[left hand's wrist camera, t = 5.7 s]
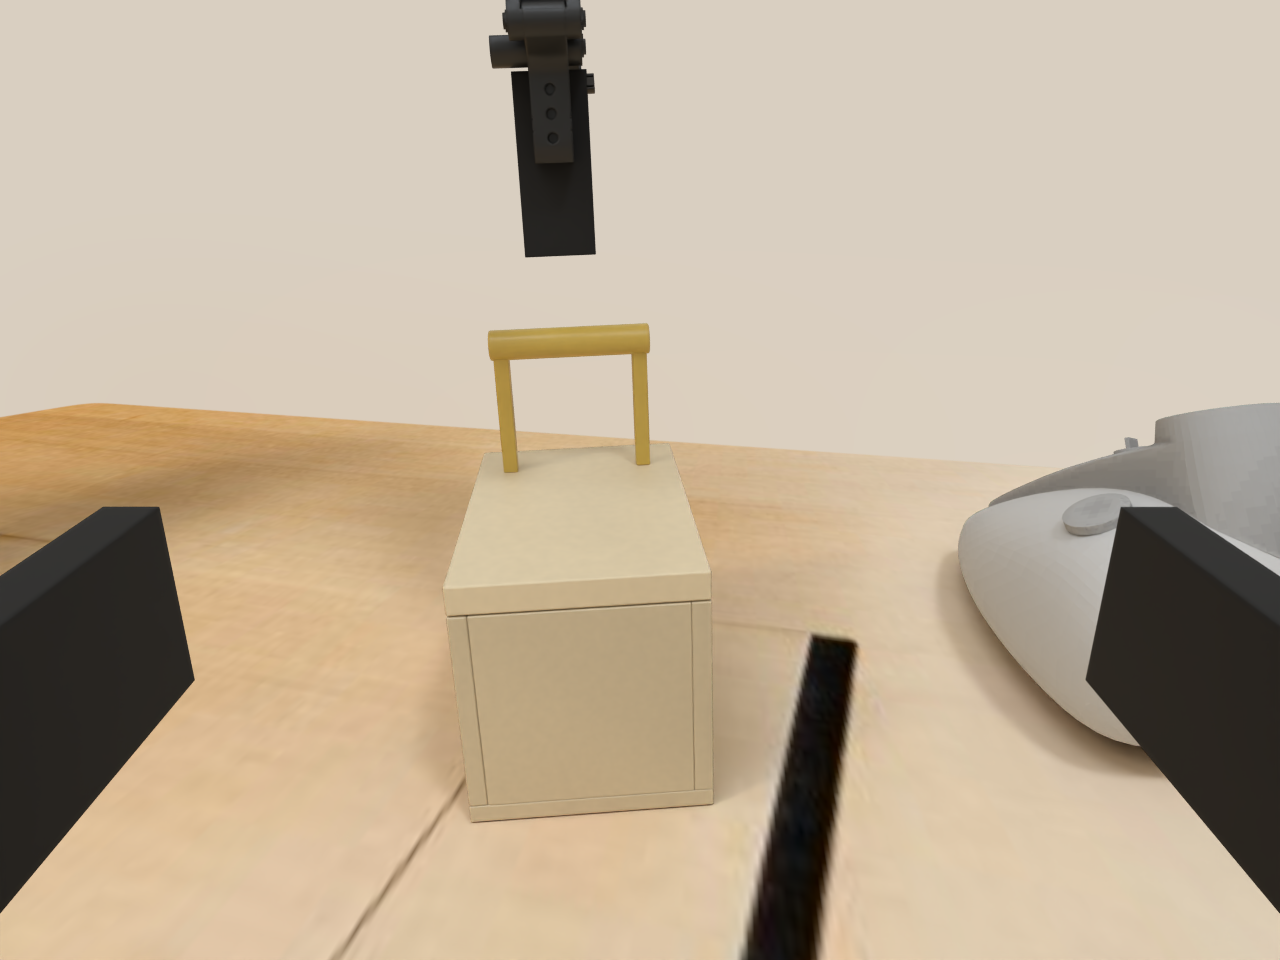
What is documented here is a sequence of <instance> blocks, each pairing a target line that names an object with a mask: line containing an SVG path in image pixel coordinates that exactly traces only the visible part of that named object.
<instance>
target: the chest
mask: <svg viewBox="0 0 1280 960" xmlns="http://www.w3.org/2000/svg"><path fill="white" fill-rule="evenodd" d="M446 622H447V630H448V638H449V647H450V655H451V663H452V671H453V679H454V687H455V695H456V703H457V711H458V720H459V728H460V736H461V744H462V752H463V760H464V768H465V776H466V784H467V792H468V801H469V805H470V806H469V810H470V818H471V822H479V821H492V820H506V819H519V818H532V817H546V816H559V815H572V814H586V813H599V812H612V811H626V810H639V809H653V808H666V807H679V806H693V805H706V804H713V683H712V601H711V599H710V600H695V601H679V602H664V603H648V604H632V605H616V606H600V607H584V608H568V609H552V610H537V611H521V612H505V613H489V614H473V615H457V616H447V618H446Z"/></svg>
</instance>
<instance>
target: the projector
mask: <svg viewBox="0 0 1280 960" xmlns="http://www.w3.org/2000/svg"><path fill="white" fill-rule="evenodd" d="M1125 444H1126V449H1121V450H1117V451H1114V454H1113V455H1109V456H1106V457H1102V458H1098V459H1095V460H1091V461H1088V462H1085V463H1082V464H1078V465H1075V466H1072V467H1068V468H1065V469H1062V470H1060V471H1057V472H1054V473H1052V474H1049V475H1046V476H1044V477H1041V478H1039V479H1037V480H1034V481H1032V482H1030V483H1027V484H1025V485H1023V486H1021V487H1018V488H1016V489H1014V490H1012V491H1010V492H1008V493H1006V494H1004V495H1002V496H1000V497H998V498H996V499H995V500H993V501H992V502H991V503H990V504H989V507H987V508H985V509H983V510H981V511H979V512H977V513H975V514H973V515H972V516H971V517H969V518H968V519H967V521H966V522H965V523H964V525H963V528H962V531H961V534H960V538H959V543H958V557H959V562H960V568H961V571H962V574H963V578H964V580H965V583H966V585H967V588H968V590H969V592H970V594H971V596H972V598H973V600H974V602H975V604H976V606H977V607H978V609H979V611H980V612H981V614H982V616H983V617H984V619H985V620H986V622H987V623H988V624H989V626H990V627H991V629H992V630H993V632H994V633H995V634H996V636H997V637H998V639H999V640H1000V641H1001V642H1002V644H1003V645H1004V646H1005V647H1006V649H1007V650H1008V651H1009V653H1010V654H1011V655H1012V656H1013V657H1014V658H1015V660H1016V661H1017V662H1018V663H1019V664H1020V665H1021V667H1022V668H1023V669H1024V670H1025V671H1026V672H1027V673H1028V674H1029V675H1030V676H1031V678H1032V679H1033V680H1034V681H1035V682H1036V683H1037V684H1038V685H1039V686H1040V687H1041V688H1042V689H1043V690H1044V691H1045V692H1046V693H1047V694H1048V695H1049V696H1050V697H1051V698H1052V699H1053V700H1054V701H1055V702H1056V703H1057V704H1058V705H1060V706H1061V707H1062V708H1063V709H1064V710H1065V711H1067V712H1068V713H1069V714H1070V715H1072V716H1073V717H1074V718H1075V719H1076V720H1078V721H1080V722H1081V723H1083V724H1084V725H1086V726H1087V727H1089V728H1091V729H1092V730H1094V731H1095V732H1097V733H1099V734H1101V735H1104V736H1106V737H1108V738H1111V739H1113V740H1116V741H1119V742H1123V743H1127V744H1131V745H1135V746H1140V745H1139V744H1138V743H1137V741H1136V740H1135V739H1134V738H1133V737H1132V735H1131V734H1130V733H1129V732H1128V731H1127V729H1126V728H1125V727H1124V726H1123V725H1122V723H1121V722H1120V721H1119V720H1118V719H1117V717H1116V716H1115V715H1114V714H1113V713H1112V711H1111V710H1110V709H1109V708H1108V707H1107V705H1106V704H1105V703H1104V702H1103V701H1102V699H1101V698H1100V697H1099V696H1098V695H1097V693H1096V692H1095V691H1094V690H1093V689H1092V687H1091V686H1090V685H1089V684H1088V683H1087V681H1086V680H1085V679H1086V674H1087V669H1088V664H1089V660H1090V655H1091V650H1092V645H1093V640H1094V635H1095V630H1096V625H1097V620H1098V615H1099V611H1100V606H1101V601H1102V596H1103V591H1104V586H1105V581H1106V576H1107V571H1108V567H1109V562H1110V557H1111V552H1112V547H1113V542H1114V537H1115V532H1116V527H1117V523H1118V518H1119V513H1120V508H1121V507H1178V508H1179V509H1181V510H1182V511H1184V512H1185V513H1187V514H1188V515H1190V516H1191V517H1193V518H1194V519H1196V520H1197V521H1199V522H1200V523H1202V524H1203V525H1205V526H1206V527H1208V528H1209V529H1210V530H1212V531H1213V532H1215V533H1216V534H1218V535H1219V536H1221V537H1222V538H1224V539H1225V540H1227V541H1228V542H1230V543H1231V544H1233V545H1234V546H1236V547H1237V548H1239V549H1240V550H1242V551H1243V552H1245V553H1246V554H1248V555H1249V556H1251V557H1252V558H1254V559H1255V560H1257V561H1258V562H1260V563H1261V564H1263V565H1264V566H1266V567H1267V568H1268V569H1270V570H1271V571H1273V572H1274V573H1276V574H1277V575H1279V576H1280V403H1263V404H1251V405H1241V406H1232V407H1223V408H1216V409H1209V410H1202V411H1195V412H1190V413H1184V414H1179V415H1174V416H1170V417H1165V418H1162V419H1159V420H1157V421H1156V426H1155V443H1154V444H1153V445H1150V446H1142V447H1138V441H1137V439H1134V438H1129V437H1128V438H1125Z"/></svg>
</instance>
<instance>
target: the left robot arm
mask: <svg viewBox="0 0 1280 960" xmlns="http://www.w3.org/2000/svg"><path fill="white" fill-rule="evenodd" d="M194 680H195V679H194V674H193V669H192V664H191V660H190V655H189V650H188V645H187V640H186V635H185V630H184V625H183V620H182V615H181V611H180V606H179V601H178V596H177V591H176V586H175V581H174V576H173V571H172V567H171V562H170V557H169V552H168V547H167V542H166V537H165V532H164V527H163V523H162V518H161V513H160V508H159V507H102V508H101V509H99V510H98V511H96V512H95V513H93V514H92V515H90V516H89V517H87V518H86V519H84V520H83V521H81V522H80V523H78V524H77V525H75V526H74V527H72V528H71V529H69V530H68V531H67V532H65V533H64V534H62V535H61V536H59V537H58V538H56V539H55V540H53V541H52V542H50V543H49V544H47V545H46V546H44V547H43V548H41V549H40V550H38V551H37V552H35V553H34V554H32V555H31V556H29V557H28V558H26V559H25V560H23V561H22V562H20V563H19V564H17V565H16V566H14V567H13V568H12V569H10V570H9V571H7V572H6V573H4V574H3V575H1V576H0V913H1V912H2V911H3V909H4V908H5V907H6V906H7V905H8V903H9V902H10V901H11V900H12V899H13V897H14V896H15V895H16V894H17V893H18V891H19V890H20V889H21V888H22V887H23V885H24V884H25V883H26V882H27V881H28V879H29V878H30V877H31V876H32V875H33V873H34V872H35V871H36V870H37V869H38V867H39V866H40V865H41V864H42V863H43V861H44V860H45V859H46V858H47V857H48V855H49V854H50V853H51V852H52V851H53V849H54V848H55V847H56V846H57V845H58V843H59V842H60V841H61V840H62V839H63V837H64V836H65V835H66V834H67V833H68V831H69V830H70V829H71V828H72V827H73V825H74V824H75V823H76V822H77V821H78V819H79V818H80V817H81V816H82V815H83V813H84V812H85V811H86V810H87V809H88V807H89V806H90V805H91V804H92V803H93V801H94V800H95V799H96V798H97V797H98V795H99V794H100V793H101V792H102V791H103V789H104V788H105V787H106V786H107V785H108V783H109V782H110V781H111V780H112V779H113V777H114V776H115V775H116V774H117V773H118V771H119V770H120V769H121V768H122V767H123V765H124V764H125V763H126V762H127V761H128V759H129V758H130V757H131V756H132V755H133V753H134V752H135V751H136V750H137V749H138V747H139V746H140V745H141V744H142V743H143V741H144V740H145V739H146V738H147V737H148V735H149V734H150V733H151V732H152V731H153V729H154V728H155V727H156V726H157V725H158V723H159V722H160V721H161V720H162V719H163V717H164V716H165V715H166V714H167V713H168V711H169V710H170V709H171V708H172V707H173V705H174V704H175V703H176V702H177V701H178V699H179V698H180V697H181V696H182V695H183V693H184V692H185V691H186V690H187V689H188V687H189V686H190V685H191V684H192V683H193V681H194ZM1085 680H1086V681H1087V683H1088V684H1089V685H1090V686H1091V687H1092V689H1093V690H1094V691H1095V692H1096V693H1097V695H1098V696H1099V697H1100V698H1101V699H1102V701H1103V702H1104V703H1105V704H1106V705H1107V707H1108V708H1109V709H1110V710H1111V711H1112V713H1113V714H1114V715H1115V716H1116V717H1117V719H1118V720H1119V721H1120V722H1121V723H1122V725H1123V726H1124V727H1125V728H1126V729H1127V731H1128V732H1129V733H1130V734H1131V735H1132V737H1133V738H1134V739H1135V740H1136V741H1137V743H1138V744H1139V745H1140V746H1141V747H1142V749H1143V750H1144V751H1145V752H1146V753H1147V755H1148V756H1149V757H1150V758H1151V759H1152V761H1153V762H1154V763H1155V764H1156V765H1157V767H1158V768H1159V769H1160V770H1161V771H1162V773H1163V774H1164V775H1165V776H1166V777H1167V779H1168V780H1169V781H1170V782H1171V783H1172V785H1173V786H1174V787H1175V788H1176V789H1177V791H1178V792H1179V793H1180V794H1181V795H1182V797H1183V798H1184V799H1185V800H1186V801H1187V803H1188V804H1189V805H1190V806H1191V807H1192V809H1193V810H1194V811H1195V812H1196V813H1197V815H1198V816H1199V817H1200V818H1201V819H1202V821H1203V822H1204V823H1205V824H1206V825H1207V827H1208V828H1209V829H1210V830H1211V831H1212V833H1213V834H1214V835H1215V836H1216V837H1217V839H1218V840H1219V841H1220V842H1221V843H1222V845H1223V846H1224V847H1225V848H1226V849H1227V851H1228V852H1229V853H1230V854H1231V855H1232V857H1233V858H1234V859H1235V860H1236V861H1237V863H1238V864H1239V865H1240V866H1241V867H1242V869H1243V870H1244V871H1245V872H1246V873H1247V875H1248V876H1249V877H1250V878H1251V879H1252V881H1253V882H1254V883H1255V884H1256V885H1257V887H1258V888H1259V889H1260V890H1261V891H1262V893H1263V894H1264V895H1265V896H1266V897H1267V899H1268V900H1269V901H1270V902H1271V903H1272V905H1273V906H1274V907H1275V908H1276V909H1277V911H1278V912H1279V913H1280V576H1279V575H1277V574H1276V573H1274V572H1273V571H1271V570H1270V569H1268V568H1267V567H1266V566H1264V565H1263V564H1261V563H1260V562H1258V561H1257V560H1255V559H1254V558H1252V557H1251V556H1249V555H1248V554H1246V553H1245V552H1243V551H1242V550H1240V549H1239V548H1237V547H1236V546H1234V545H1233V544H1231V543H1230V542H1228V541H1227V540H1225V539H1224V538H1222V537H1221V536H1219V535H1218V534H1216V533H1215V532H1213V531H1212V530H1210V529H1209V528H1208V527H1206V526H1205V525H1203V524H1202V523H1200V522H1199V521H1197V520H1196V519H1194V518H1193V517H1191V516H1190V515H1188V514H1187V513H1185V512H1184V511H1182V510H1181V509H1179V508H1178V507H1121V508H1120V513H1119V518H1118V523H1117V527H1116V532H1115V537H1114V542H1113V547H1112V552H1111V557H1110V562H1109V567H1108V571H1107V576H1106V581H1105V586H1104V591H1103V596H1102V601H1101V606H1100V611H1099V615H1098V620H1097V625H1096V630H1095V635H1094V640H1093V645H1092V650H1091V655H1090V660H1089V664H1088V669H1087V674H1086V679H1085Z"/></svg>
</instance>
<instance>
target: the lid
mask: <svg viewBox="0 0 1280 960" xmlns="http://www.w3.org/2000/svg"><path fill="white" fill-rule="evenodd" d="M488 349H489V356H490V359H491V360H492V361H494V371H495V382H496V392H497V403H498V414H499V425H500V436H501V447H502V452H495V453H485V454H484V456H483V460H482V463H481V466H480V469H479V473H478V476H477V479H476V482H475V486H474V489H473V492H472V495H471V498H470V502H469V505H468V508H467V511H466V515H465V518H464V521H463V524H462V527H461V531H460V534H459V537H458V540H457V544H456V547H455V550H454V553H453V556H452V560H451V563H450V566H449V569H448V573H447V576H446V579H445V582H444V585H443V589H442V590H443V598H444V606H445V614H446V616H457V615H473V614H489V613H505V612H521V611H537V610H552V609H568V608H584V607H600V606H616V605H632V604H648V603H664V602H679V601H695V600H710V599H711V597H712V581H711V570H710V567H709V563H708V560H707V557H706V554H705V551H704V548H703V545H702V542H701V539H700V536H699V533H698V530H697V527H696V524H695V520H694V517H693V514H692V511H691V508H690V505H689V502H688V499H687V496H686V493H685V490H684V487H683V484H682V481H681V478H680V474H679V471H678V468H677V465H676V462H675V459H674V456H673V453H672V450H671V447H670V444H669V443H662V444H650V443H649V413H648V382H647V353H649V351H650V334H649V326H648V324H647V323H643V324H622V325H601V326H580V327H558V328H537V329H516V330H494V331H489V333H488ZM621 354H631V355H632V381H633V407H634V433H635V445H625V446H606V447H588V448H569V449H551V450H532V451H517V442H516V430H515V418H514V407H513V395H512V384H511V372H510V360H519V359H539V358H559V357H580V356H601V355H621Z"/></svg>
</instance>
